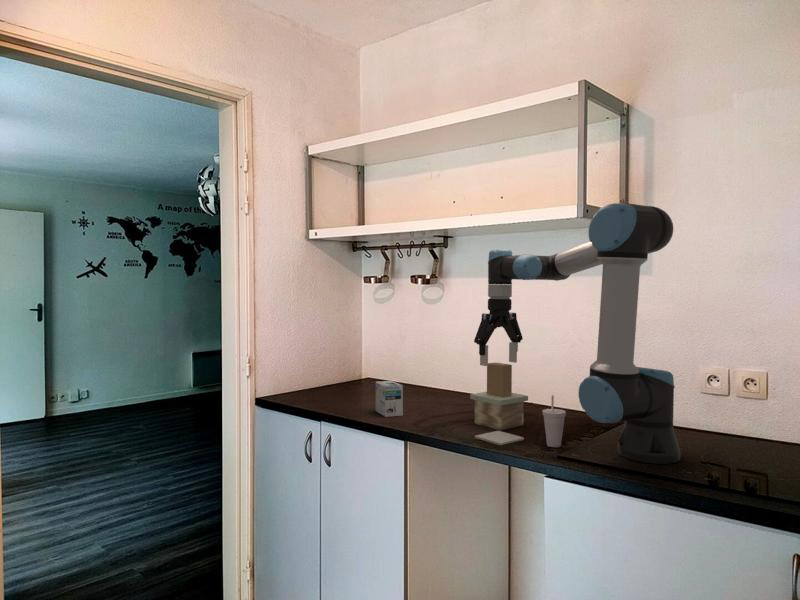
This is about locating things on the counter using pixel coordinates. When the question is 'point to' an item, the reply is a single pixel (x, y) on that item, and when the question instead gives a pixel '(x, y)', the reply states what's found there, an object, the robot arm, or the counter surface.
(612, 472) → the counter surface
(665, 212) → the robot arm
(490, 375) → the lid
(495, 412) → the box
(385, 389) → the light bulb box
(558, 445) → the smoothie
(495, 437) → the mat
